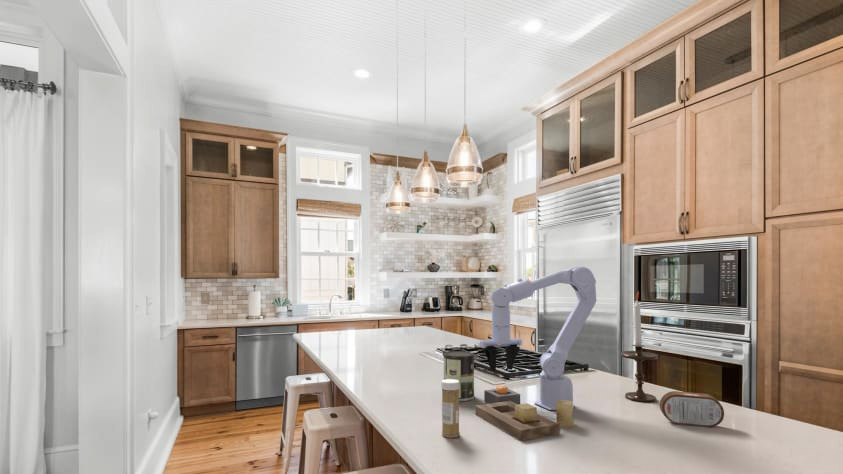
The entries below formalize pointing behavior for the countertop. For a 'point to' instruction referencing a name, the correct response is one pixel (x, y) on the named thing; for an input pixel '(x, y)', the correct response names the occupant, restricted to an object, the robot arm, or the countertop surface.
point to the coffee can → (460, 372)
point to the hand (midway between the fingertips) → (501, 369)
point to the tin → (692, 409)
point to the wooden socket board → (505, 420)
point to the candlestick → (639, 360)
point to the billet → (525, 413)
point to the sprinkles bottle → (450, 408)
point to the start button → (501, 390)
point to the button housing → (501, 396)
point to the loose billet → (564, 413)
